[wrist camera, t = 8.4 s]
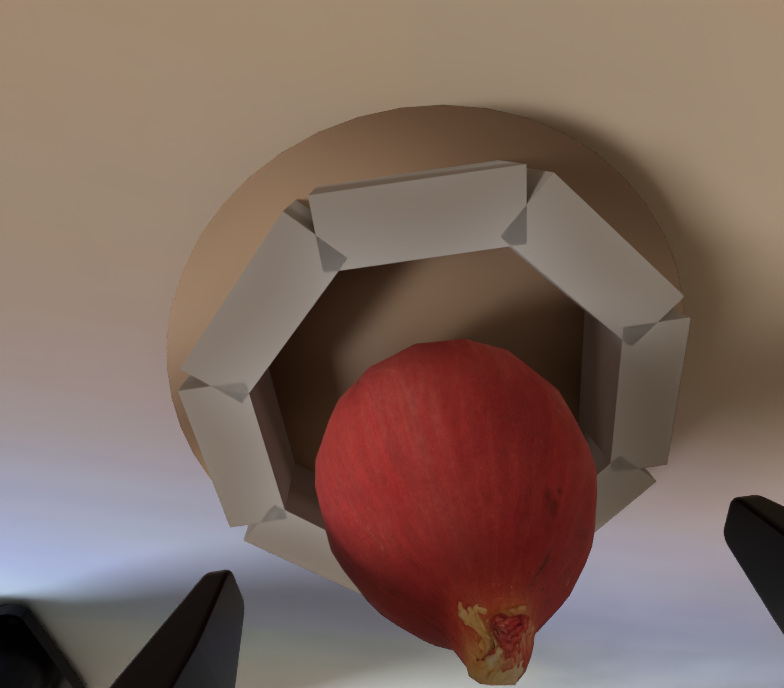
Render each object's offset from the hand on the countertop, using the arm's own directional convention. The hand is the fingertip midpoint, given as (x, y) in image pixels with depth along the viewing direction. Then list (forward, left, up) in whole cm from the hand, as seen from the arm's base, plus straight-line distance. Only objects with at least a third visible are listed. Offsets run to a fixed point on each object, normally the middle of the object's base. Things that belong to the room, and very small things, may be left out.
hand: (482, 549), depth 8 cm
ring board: (0, 0, -7) cm, 7 cm away
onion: (0, 0, -6) cm, 6 cm away
